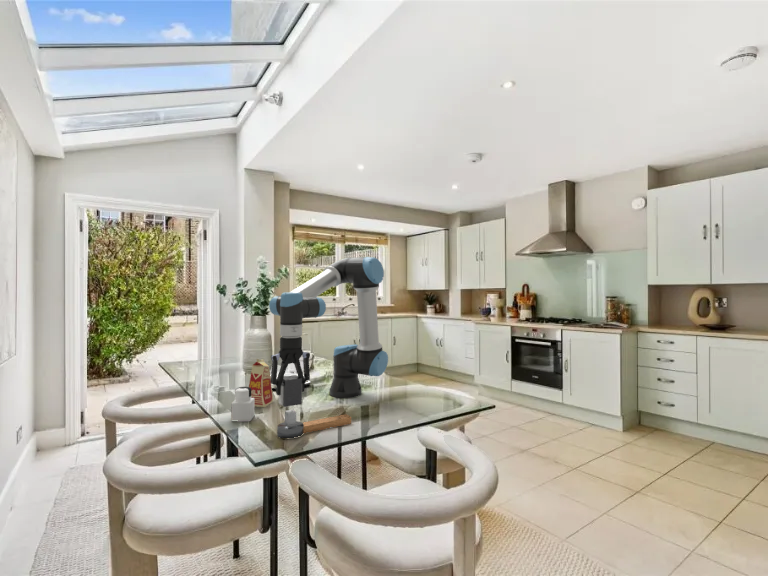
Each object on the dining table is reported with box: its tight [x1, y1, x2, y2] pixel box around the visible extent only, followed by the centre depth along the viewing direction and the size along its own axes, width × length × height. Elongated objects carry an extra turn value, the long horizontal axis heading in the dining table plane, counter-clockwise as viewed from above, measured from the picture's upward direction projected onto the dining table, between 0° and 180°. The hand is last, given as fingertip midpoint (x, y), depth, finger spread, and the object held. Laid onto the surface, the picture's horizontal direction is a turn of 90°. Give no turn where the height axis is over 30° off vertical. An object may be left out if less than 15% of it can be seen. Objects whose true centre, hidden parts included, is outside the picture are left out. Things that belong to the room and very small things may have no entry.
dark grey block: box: [281, 375, 303, 408], centre depth 141 cm, size 6×6×9 cm
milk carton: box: [248, 358, 274, 408], centre depth 176 cm, size 9×9×20 cm
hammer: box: [276, 409, 352, 439], centre depth 147 cm, size 28×9×8 cm, turn 123°
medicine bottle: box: [230, 386, 255, 422], centre depth 157 cm, size 7×7×12 cm
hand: (290, 402), depth 141 cm, fingers closed on dark grey block, 6 cm apart
